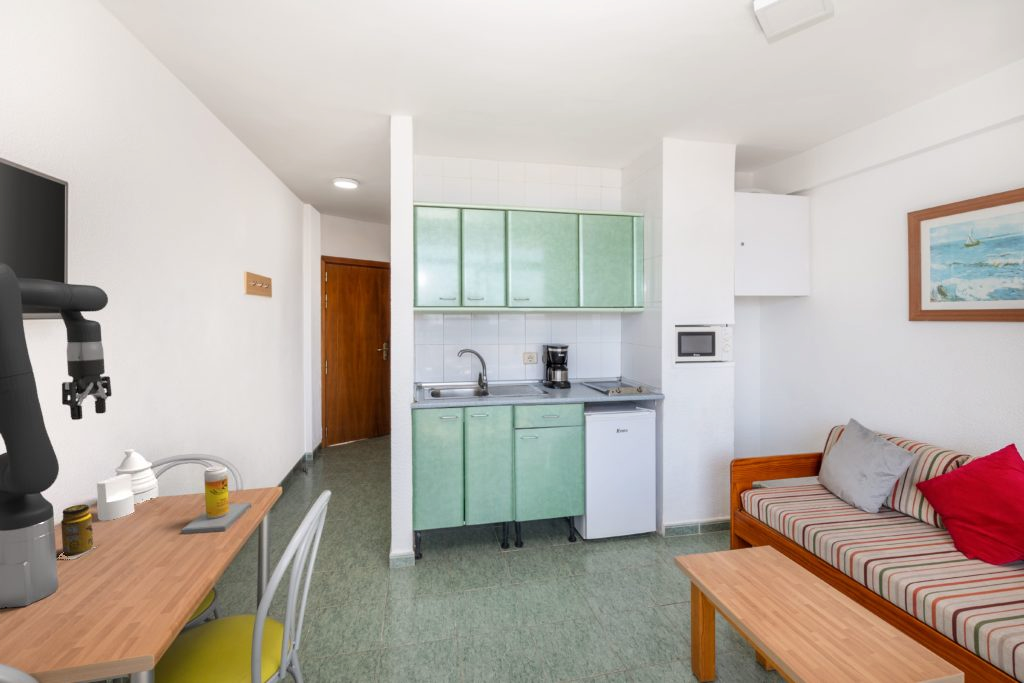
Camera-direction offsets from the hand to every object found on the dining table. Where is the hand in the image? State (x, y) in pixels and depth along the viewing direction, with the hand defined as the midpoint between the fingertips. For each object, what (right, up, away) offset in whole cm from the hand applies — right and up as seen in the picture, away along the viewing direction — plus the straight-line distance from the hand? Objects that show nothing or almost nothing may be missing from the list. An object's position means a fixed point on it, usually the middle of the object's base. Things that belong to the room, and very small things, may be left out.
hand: (89, 416), depth 129 cm
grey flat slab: (+26, -35, +16) cm, 46 cm away
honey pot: (-15, -35, +34) cm, 51 cm away
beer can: (+26, -34, +16) cm, 45 cm away
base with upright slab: (-10, -36, +21) cm, 42 cm away
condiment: (-1, -37, -3) cm, 37 cm away
